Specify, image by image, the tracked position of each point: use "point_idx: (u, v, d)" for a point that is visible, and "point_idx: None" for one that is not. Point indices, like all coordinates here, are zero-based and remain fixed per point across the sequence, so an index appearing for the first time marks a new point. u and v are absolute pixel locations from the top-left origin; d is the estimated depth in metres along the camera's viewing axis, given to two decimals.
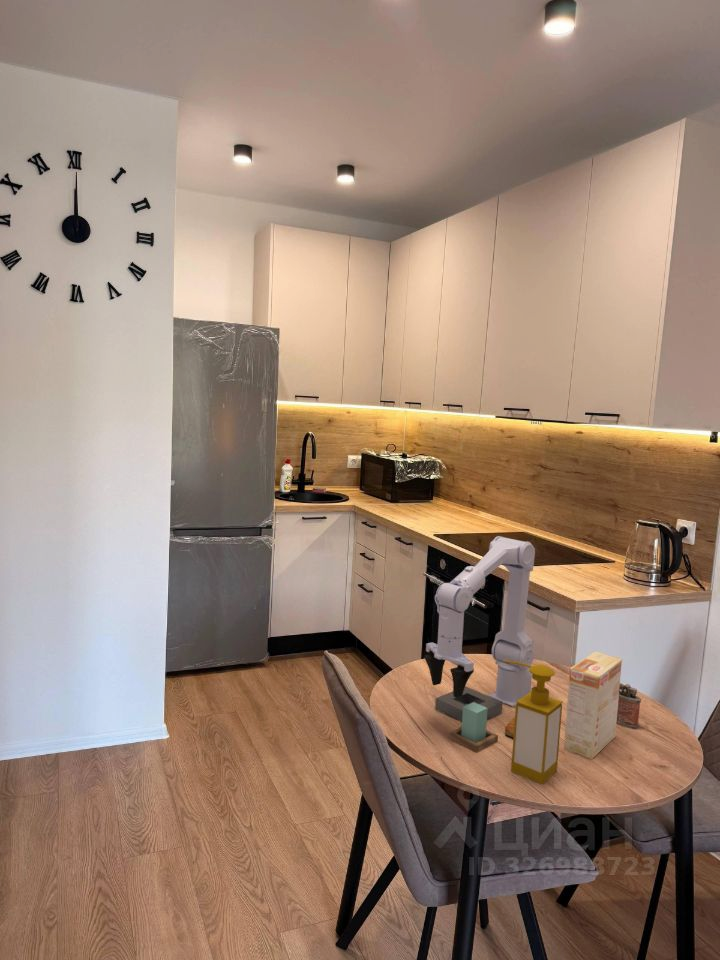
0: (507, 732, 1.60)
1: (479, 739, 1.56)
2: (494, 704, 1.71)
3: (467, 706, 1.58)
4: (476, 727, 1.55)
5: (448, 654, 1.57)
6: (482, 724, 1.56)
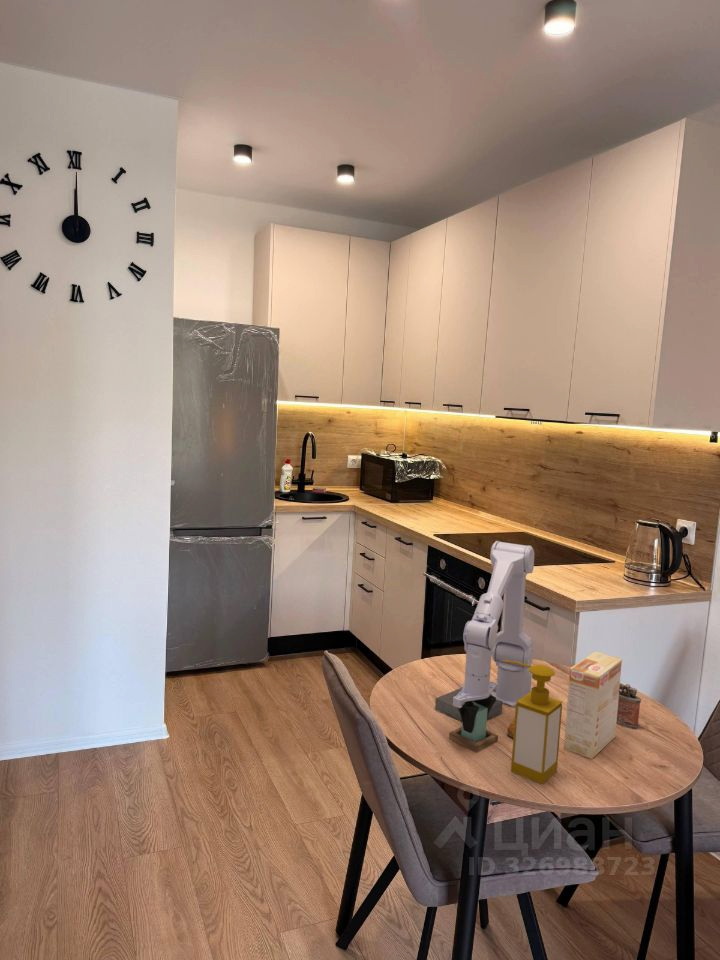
0: (509, 733, 1.60)
1: (479, 739, 1.56)
2: (494, 704, 1.71)
3: None
4: (476, 727, 1.55)
5: (464, 687, 1.57)
6: (482, 724, 1.56)
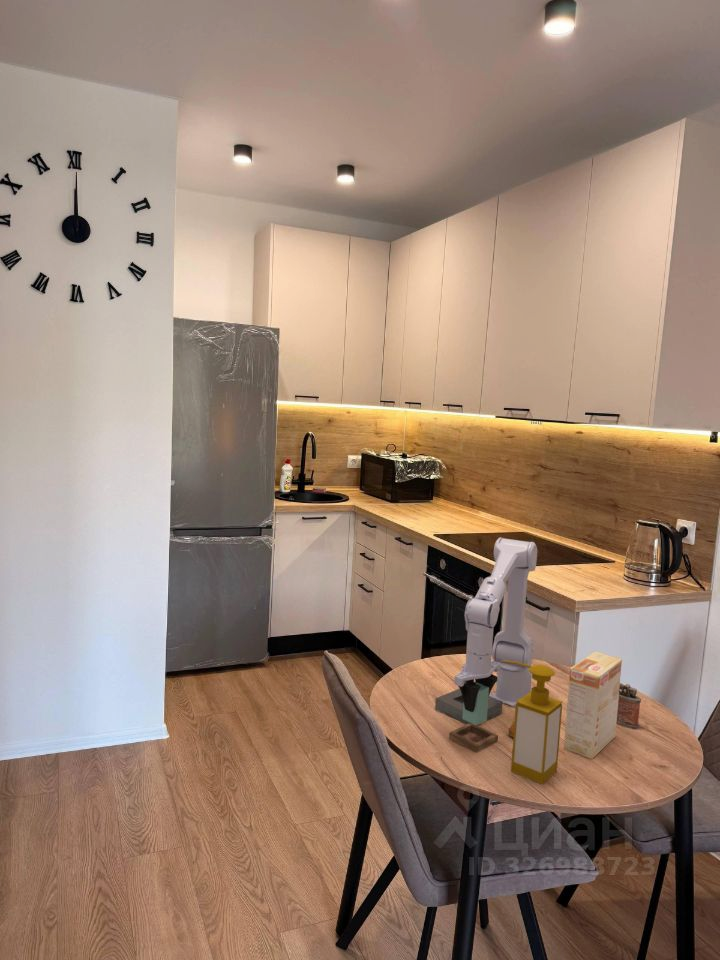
0: (511, 734, 1.60)
1: (480, 718, 1.56)
2: (494, 704, 1.71)
3: None
4: (477, 706, 1.54)
5: (465, 666, 1.56)
6: (483, 703, 1.56)
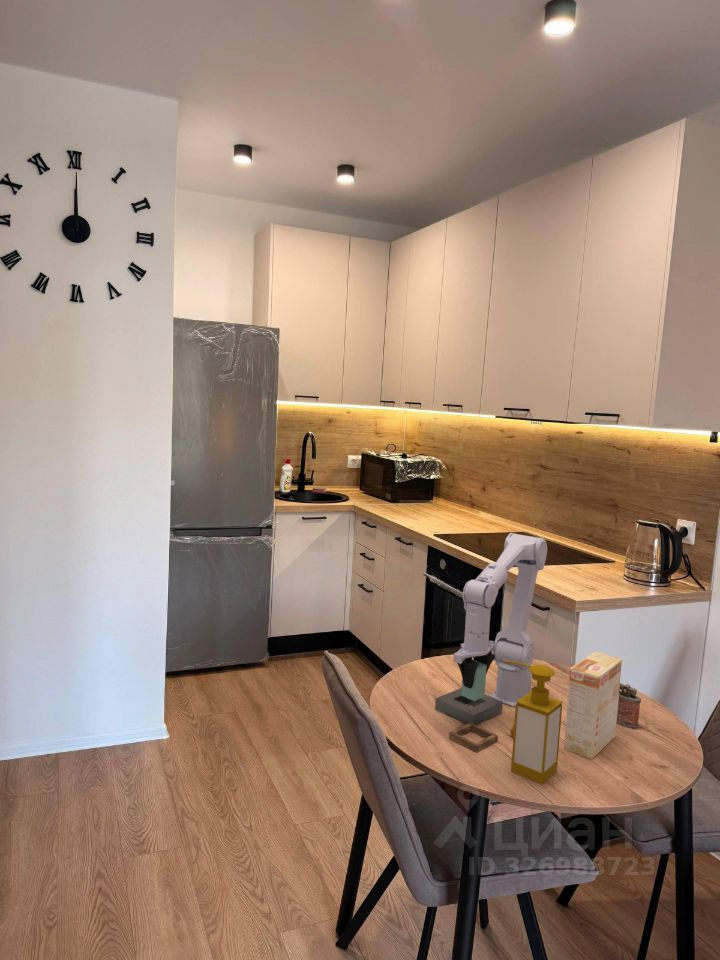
0: (513, 734, 1.59)
1: (479, 694, 1.63)
2: (494, 704, 1.71)
3: None
4: (476, 682, 1.62)
5: (464, 644, 1.63)
6: (481, 680, 1.63)
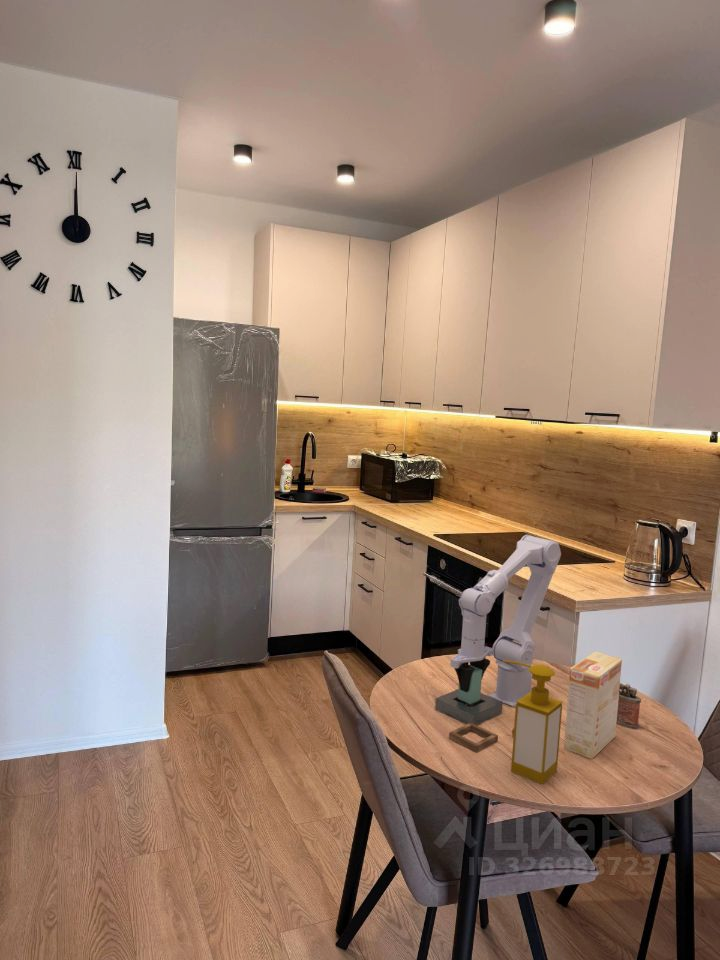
0: None
1: (474, 698, 1.71)
2: (494, 704, 1.71)
3: None
4: (471, 686, 1.69)
5: (461, 650, 1.71)
6: (477, 684, 1.71)
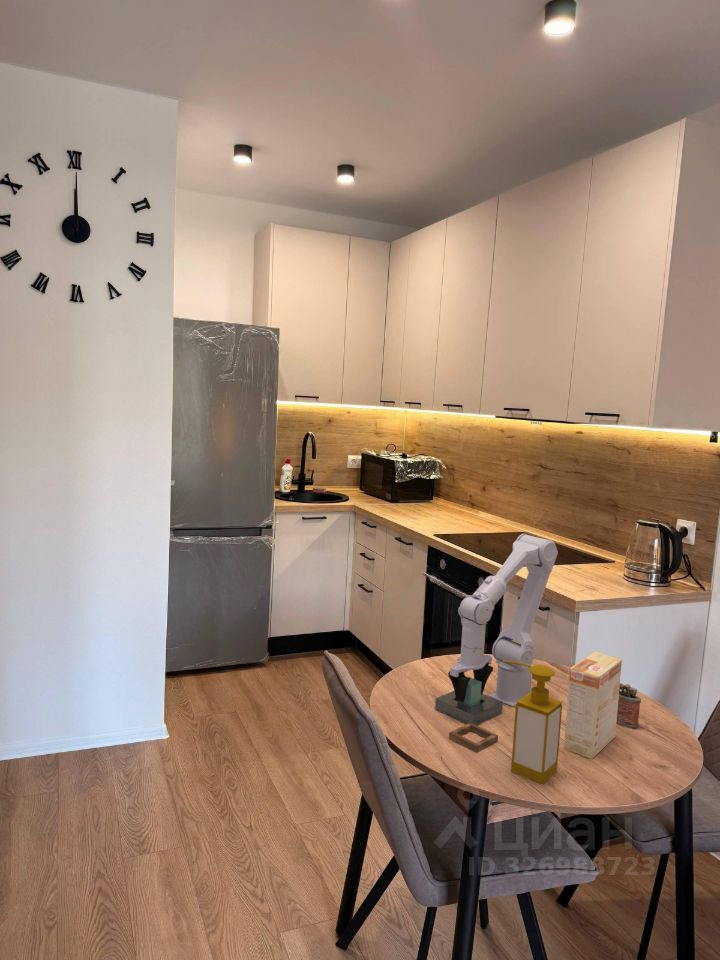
0: None
1: None
2: (494, 704, 1.71)
3: None
4: (471, 698, 1.70)
5: (460, 659, 1.72)
6: (476, 696, 1.71)
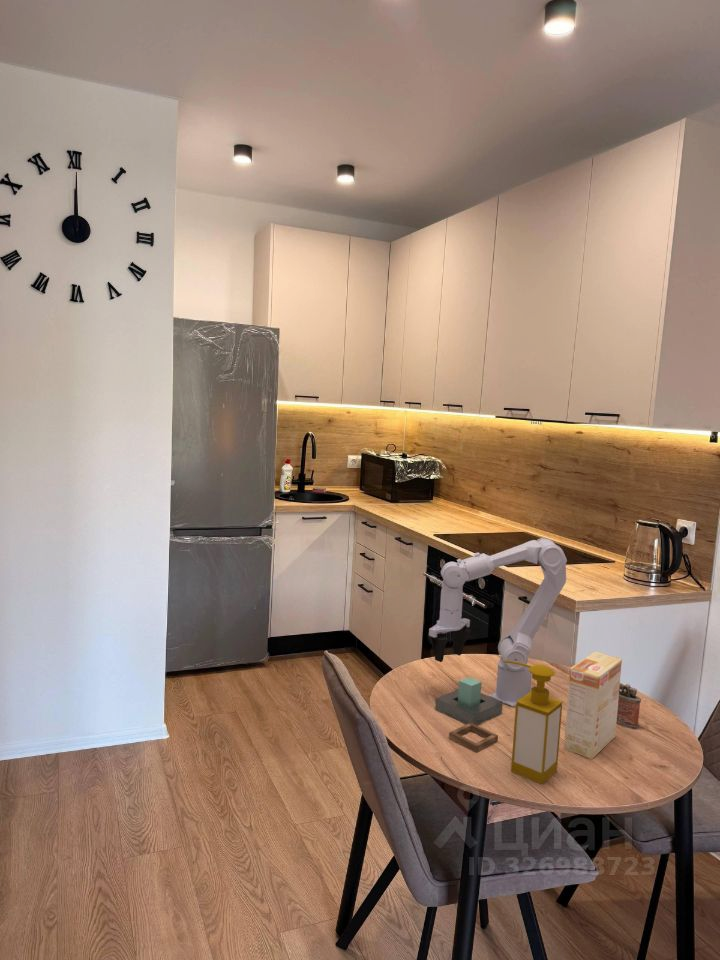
0: None
1: None
2: (494, 704, 1.71)
3: (463, 680, 1.72)
4: (471, 698, 1.70)
5: (439, 621, 1.80)
6: (476, 696, 1.71)
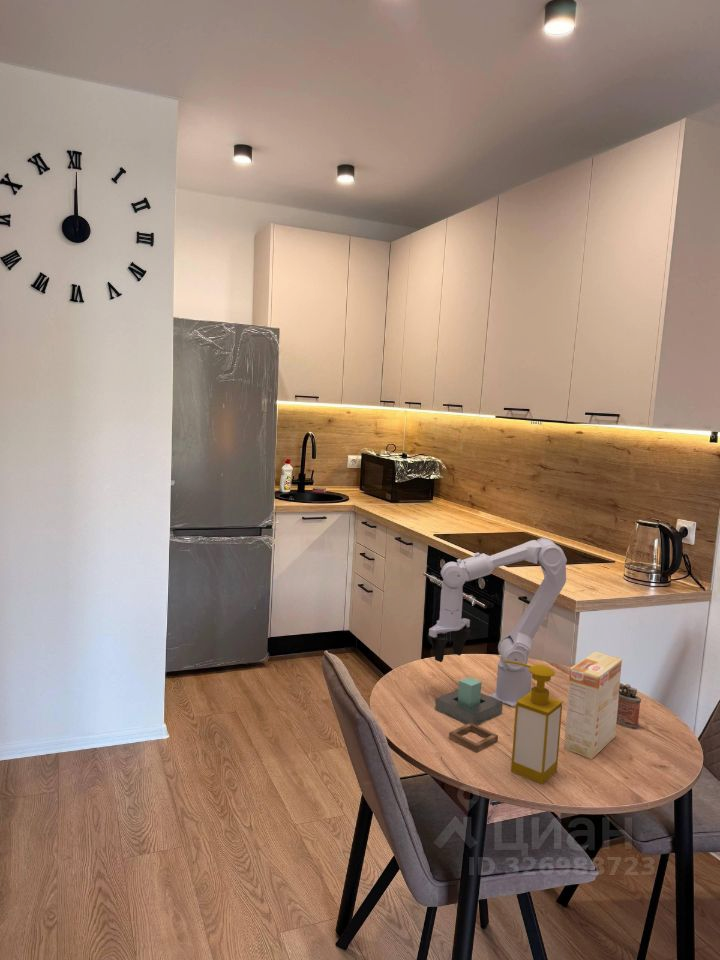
0: None
1: None
2: (494, 704, 1.71)
3: (463, 680, 1.72)
4: (471, 698, 1.70)
5: (439, 621, 1.80)
6: (476, 696, 1.71)
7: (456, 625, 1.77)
